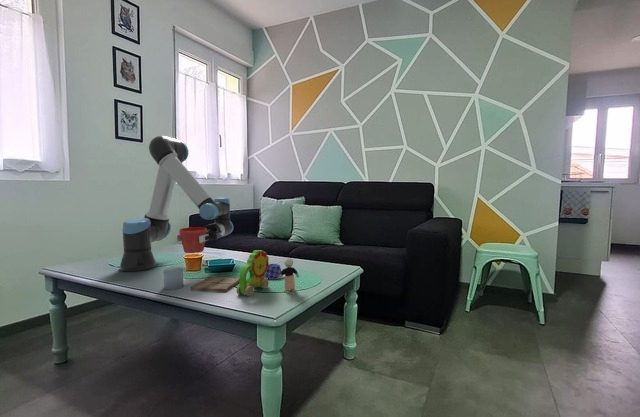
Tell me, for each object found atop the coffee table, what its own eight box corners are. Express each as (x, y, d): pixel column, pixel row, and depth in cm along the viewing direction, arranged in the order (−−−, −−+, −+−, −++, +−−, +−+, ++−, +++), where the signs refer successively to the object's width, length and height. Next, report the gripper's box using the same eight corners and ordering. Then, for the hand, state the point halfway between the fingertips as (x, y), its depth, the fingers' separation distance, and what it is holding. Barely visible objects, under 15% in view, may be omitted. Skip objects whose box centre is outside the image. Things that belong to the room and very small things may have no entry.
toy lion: (247, 298, 117) (247, 255, 116) (235, 295, 120) (234, 254, 118) (272, 285, 132) (272, 248, 130) (261, 283, 134) (260, 246, 133)
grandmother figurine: (295, 288, 128) (295, 256, 127) (300, 290, 125) (300, 258, 124) (277, 291, 124) (277, 258, 123) (281, 294, 121) (281, 260, 120)
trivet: (190, 290, 125) (190, 286, 125) (208, 279, 139) (208, 276, 139) (225, 292, 123) (225, 288, 123) (240, 281, 137) (240, 277, 137)
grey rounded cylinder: (160, 289, 127) (159, 271, 126) (171, 283, 134) (170, 266, 133) (176, 290, 126) (176, 272, 125) (187, 284, 133) (186, 267, 132)
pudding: (292, 275, 147) (292, 264, 146) (274, 282, 137) (274, 269, 136) (272, 271, 153) (271, 260, 153) (253, 277, 143) (253, 265, 143)
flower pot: (198, 254, 134) (198, 231, 133) (174, 253, 136) (174, 230, 136) (212, 249, 144) (211, 227, 144) (189, 248, 147) (189, 226, 146)
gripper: (236, 239, 156) (213, 249, 134) (192, 238, 160) (163, 246, 138) (235, 224, 156) (213, 230, 134) (191, 222, 159) (162, 229, 137)
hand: (188, 239), depth 136 cm, fingers closed on flower pot, 10 cm apart
